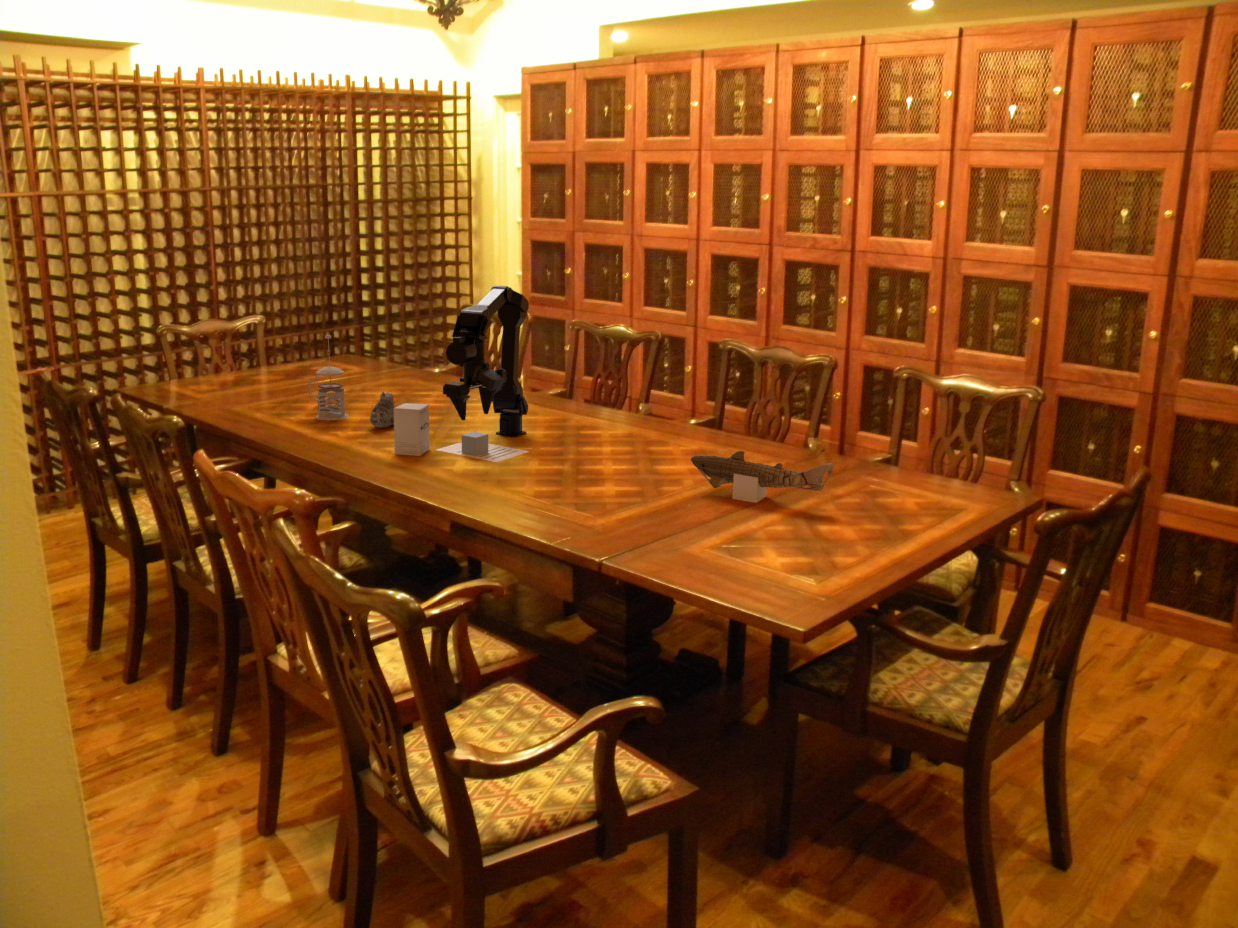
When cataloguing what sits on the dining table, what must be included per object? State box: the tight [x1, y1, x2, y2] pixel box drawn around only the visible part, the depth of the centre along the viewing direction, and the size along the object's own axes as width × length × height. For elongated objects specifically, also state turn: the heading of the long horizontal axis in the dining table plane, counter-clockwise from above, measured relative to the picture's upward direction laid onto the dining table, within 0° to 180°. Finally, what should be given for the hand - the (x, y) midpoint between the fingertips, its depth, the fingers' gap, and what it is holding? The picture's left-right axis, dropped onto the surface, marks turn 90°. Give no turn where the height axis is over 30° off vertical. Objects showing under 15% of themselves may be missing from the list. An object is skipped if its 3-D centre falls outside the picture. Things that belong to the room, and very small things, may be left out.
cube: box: [461, 431, 489, 456], centre depth 283 cm, size 5×5×5 cm
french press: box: [307, 334, 349, 421], centre depth 318 cm, size 10×12×25 cm
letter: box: [436, 441, 530, 463], centre depth 286 cm, size 14×21×1 cm, turn 57°
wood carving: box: [690, 450, 834, 504], centre depth 248 cm, size 9×35×11 cm, turn 61°
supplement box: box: [393, 403, 431, 457], centre depth 282 cm, size 7×7×13 cm
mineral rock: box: [369, 391, 395, 428], centre depth 311 cm, size 13×11×10 cm
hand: (474, 417), depth 281 cm, fingers open, 9 cm apart
